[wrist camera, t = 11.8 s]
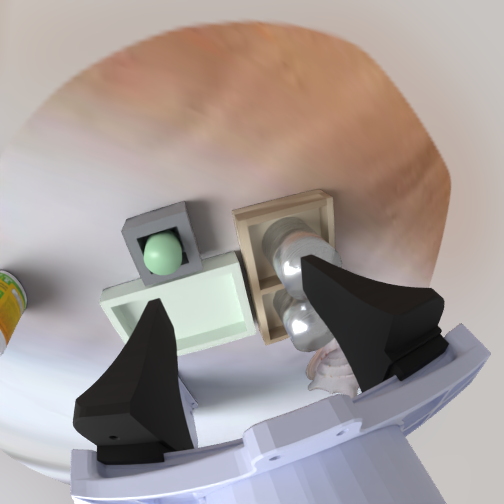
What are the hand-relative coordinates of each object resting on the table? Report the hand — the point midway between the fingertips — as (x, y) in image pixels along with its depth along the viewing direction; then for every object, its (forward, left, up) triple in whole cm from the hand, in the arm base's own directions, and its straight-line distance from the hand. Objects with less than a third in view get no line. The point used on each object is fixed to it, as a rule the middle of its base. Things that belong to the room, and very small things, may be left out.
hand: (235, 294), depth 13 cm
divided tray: (-7, -6, -10) cm, 14 cm away
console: (-1, +4, -10) cm, 11 cm away
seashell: (-24, -11, -11) cm, 29 cm away
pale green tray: (-8, +5, -10) cm, 14 cm away
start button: (-1, +4, -9) cm, 10 cm away
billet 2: (-10, -6, -9) cm, 15 cm away
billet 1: (-4, -6, -9) cm, 12 cm away
